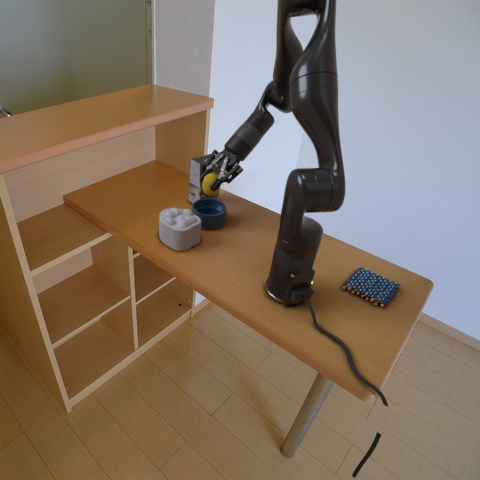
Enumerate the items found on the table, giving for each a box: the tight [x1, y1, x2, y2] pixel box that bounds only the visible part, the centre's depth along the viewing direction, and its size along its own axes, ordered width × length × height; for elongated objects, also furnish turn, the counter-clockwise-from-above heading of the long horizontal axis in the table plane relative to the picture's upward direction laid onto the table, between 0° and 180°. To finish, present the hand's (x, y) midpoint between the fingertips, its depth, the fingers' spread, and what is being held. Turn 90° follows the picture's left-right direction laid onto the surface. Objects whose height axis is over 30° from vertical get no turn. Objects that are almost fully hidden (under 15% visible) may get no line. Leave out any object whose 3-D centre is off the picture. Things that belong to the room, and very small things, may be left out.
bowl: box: [191, 198, 228, 230], centre depth 117 cm, size 11×11×6 cm
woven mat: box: [342, 266, 402, 308], centre depth 91 cm, size 10×11×2 cm
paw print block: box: [158, 207, 202, 252], centre depth 109 cm, size 10×13×9 cm
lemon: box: [202, 173, 221, 197], centre depth 111 cm, size 6×6×8 cm
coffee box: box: [188, 153, 221, 204], centre depth 125 cm, size 9×6×16 cm
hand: (206, 185), depth 111 cm, fingers closed on lemon, 5 cm apart
